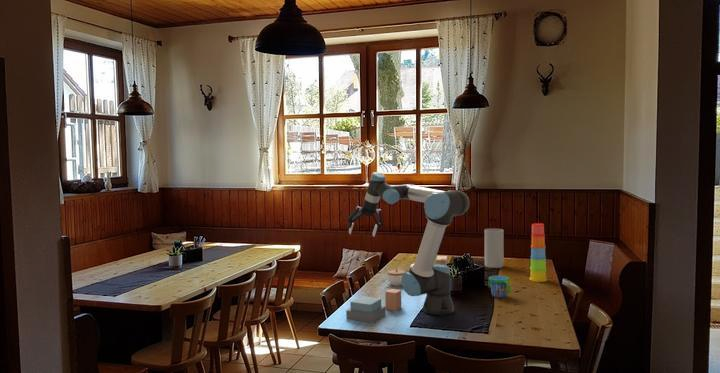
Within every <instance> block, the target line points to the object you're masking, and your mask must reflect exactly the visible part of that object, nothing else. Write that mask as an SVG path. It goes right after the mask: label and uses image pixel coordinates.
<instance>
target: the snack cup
mask: <svg viewBox="0 0 720 373" xmlns="http://www.w3.org/2000/svg"><path fill="white" fill-rule="evenodd" d="M487 286H488V288H490V290H491V296H492V297H494V298H505V297H507V294H510V293H511V285H510V278H509V277H508V276H506V275H505V276H504V275H491V276H489V277H488V281H487Z"/></svg>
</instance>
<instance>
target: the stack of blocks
mask: <svg viewBox="0 0 720 373" xmlns="http://www.w3.org/2000/svg"><path fill="white" fill-rule="evenodd" d="M435 264H440V265H445V266H447V264H448V256H447V255H436V259H435ZM448 265H449V264H448Z"/></svg>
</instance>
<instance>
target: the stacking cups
mask: <svg viewBox="0 0 720 373" xmlns="http://www.w3.org/2000/svg"><path fill="white" fill-rule="evenodd" d="M530 236H531V245H530V249H531V250H530V252H531V253H530V254H531V255H530V266H529V269H530V277H529V280H530V281H531V282H534V283H544V282H547V281H548V279H547V269H548V267H546V264H547V262H546V261H547V256H546V248H547V246H546V242H545V240H546V238H545V237H546V234H545V224H544V223H542V222H534V223H532V224H531V235H530Z"/></svg>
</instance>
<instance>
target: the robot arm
mask: <svg viewBox="0 0 720 373" xmlns="http://www.w3.org/2000/svg"><path fill="white" fill-rule="evenodd" d="M386 178H387V177H386V175H385V174H384V173H382V172H378V171H376V172H372V174H371V176H370V179H369V182H368V185H367V189H366V194H365V197H364V200H363V203H362V206H359V205H356V207H355V208H354V209H353V211H352V212H351V213H350V214H349V215H348V216H347V217H346V220H347V222H349V224H348V228H349V229H348V234H349V235H351V234H352V231H353V228H354V222H356V221H357V220H359V219H360V218H361V217H364V216H365V217H372V218H373V220H374V221H375V223H376V224H375V225H374V228H373V230H372V237H373V238H375V237H376V233H377V232H379V230H380V227H383V226H384V221H383V216H382V210H381V208H378V205H379V202H380V199H382V200H384V201H385V202H386V203H387V204H390V205H393V204H395V203H397V202H398V201H400V200H409V201H413V202H414V201H415V202H420V203H424V205H423V209H424V214H425V218H426V219H427V223H426V225H425V226H426V227H425V230H424V233H423V237H422V239H421V243H420V245H419V249H418V252H417V255H416V259H415V262H413V263H411V265H410V266H409V269H408V271H407V272H406V271H405V272H406V273H404V274H403V276H402V280H401V282H402V285H401V286H402V289H403V291H404V292H405V293H406V294H407V295H408V296H410V297H418V296H423V295H426V296H425V299H424V303H423V306H422V310H423V312H424V313H425V314H429V315H434V316H444V315H446V316H447V315H451V314H453V313H454V311H455V305H454V303H453V300H452V297H451V268H450V267H449V265H448V266H445V265H440V264H436V259H437V256H438V252H439V249H440V246H441V243H442V240H443V237H444V234H445V230H446V228H447V227H448V226H451V223H452V221H453V217H458V216H462V215H464V214H465V213H466V212H467V211H468V210H469V207H470V198H469V196H468V195H467V194H466V193H465V192H464V191H461V190H453V189H449V190H447V191H446V190H441V189H440V190H439V189H434V188H429V187H424V186H418V185H416V184H414V183H413V184H412V183H407V184H397V185H396V184H395V185H390V184H389V183H387V182H386ZM376 213H377V216H378V219H379V220H378V219H377V217H376Z"/></svg>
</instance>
